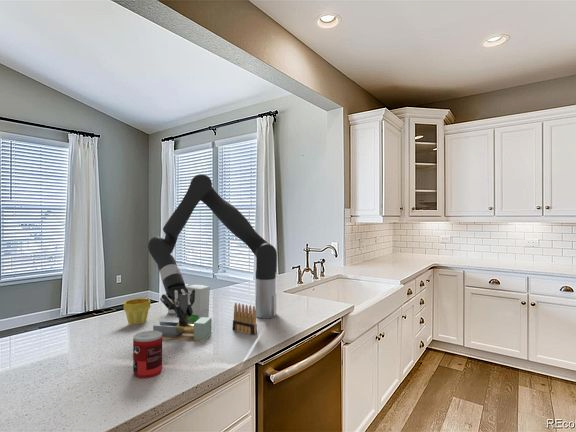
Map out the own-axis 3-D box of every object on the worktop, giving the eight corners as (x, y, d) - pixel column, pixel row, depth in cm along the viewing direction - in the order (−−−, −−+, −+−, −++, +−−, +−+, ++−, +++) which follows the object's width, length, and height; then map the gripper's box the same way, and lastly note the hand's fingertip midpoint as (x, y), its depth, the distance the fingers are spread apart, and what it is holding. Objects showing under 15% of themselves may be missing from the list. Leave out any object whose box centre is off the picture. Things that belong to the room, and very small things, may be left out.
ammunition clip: (257, 337, 128) (257, 305, 128) (254, 338, 126) (254, 306, 126) (235, 331, 133) (235, 301, 133) (232, 333, 132) (232, 302, 132)
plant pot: (117, 325, 140) (118, 302, 140) (139, 319, 149) (139, 296, 149) (134, 329, 135) (134, 305, 135) (155, 322, 144) (155, 299, 144)
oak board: (212, 335, 129) (212, 332, 129) (202, 345, 119) (202, 341, 119) (163, 332, 132) (163, 329, 132) (149, 342, 122) (149, 338, 122)
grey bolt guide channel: (182, 332, 128) (182, 322, 128) (176, 337, 123) (176, 326, 123) (160, 331, 130) (160, 321, 130) (153, 336, 124) (153, 325, 124)
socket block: (211, 333, 128) (211, 317, 128) (204, 340, 121) (204, 323, 121) (201, 332, 128) (201, 317, 128) (193, 339, 121) (193, 323, 121)
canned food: (138, 366, 102) (138, 330, 102) (165, 366, 103) (165, 330, 103) (128, 379, 94) (128, 339, 94) (158, 378, 95) (158, 339, 95)
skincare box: (184, 323, 144) (184, 286, 144) (194, 319, 149) (195, 283, 149) (199, 326, 140) (200, 288, 140) (210, 321, 146) (210, 285, 146)
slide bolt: (207, 332, 126) (208, 293, 126) (204, 335, 123) (204, 296, 123) (179, 331, 127) (180, 292, 127) (175, 334, 124) (176, 294, 124)
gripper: (156, 274, 126) (170, 314, 117) (191, 270, 136) (206, 307, 127) (151, 286, 130) (164, 326, 121) (185, 282, 140) (199, 318, 131)
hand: (185, 316), depth 124 cm, fingers closed on slide bolt, 3 cm apart
